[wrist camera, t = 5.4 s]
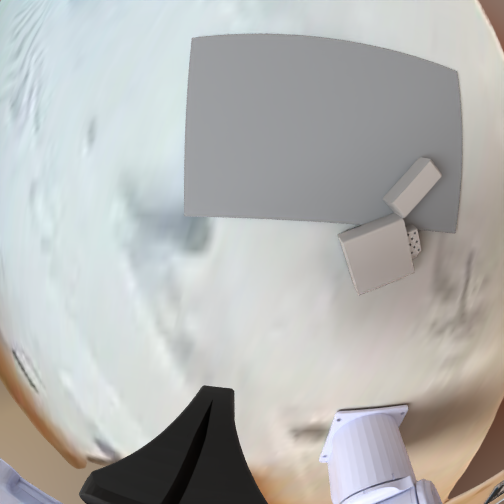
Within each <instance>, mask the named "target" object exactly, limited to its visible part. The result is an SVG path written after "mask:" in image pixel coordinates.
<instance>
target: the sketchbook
mask: <svg viewBox="0 0 504 504" xmlns="http://www.w3.org/2000/svg"><path fill="white" fill-rule="evenodd" d="M503 493H504V480H503V481H502V482H501V483H499V484H498V485H497V486H495V488H494V489H493V491H492V492H491V494H490V495H489V497H488V498H487V500H486V501H485V503H484V504H488V503H489V502H491V501H493V500H494V499H496V498H497V497H499V496H500V495H501V494H503Z"/></svg>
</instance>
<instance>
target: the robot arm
mask: <svg viewBox="0 0 504 504" xmlns="http://www.w3.org/2000/svg"><path fill="white" fill-rule="evenodd" d="M408 409H409V408H408V405H401V406H393V407H385V408H375V409H364V410H351V411H339V412H337V413H336V414H335V416H334V419H333V422H332V425H331V428H330V431H329V434H328V436H327V439H326V442H325V444H324V447H323V450H322V452H321V455H320V457H319V462H328V471H329V481H330V491H331V499H332V502H333V504H442V501H441V499H440V496H439V494H438V492H437V490H436V488H435V486H434V484H433V483H432V482H431V481H428V480H425V479H421V480H420V481H417V480H416V477H415V474H414V471H413V468H412V465H411V462H410V459H409V456H408V453H407V451H406V448H405V445H404V442H403V439H402V437H401V434H400V431H399V426H400V424H401V422H402V421H403V419H404V417H405V415H406V413H407V411H408ZM234 417H235V413H234V390H233V389H230V388H221V387H212V386H205V385H204V386H202V387H201V389H200V390H199V392H198V393H197V395H196V396H195V397H194V399H193V400H192V401H191V402H190V404H189V405H188V406H187V407H186V408H185V410H184V411H183V412H182V413H181V414H180V415H179V416H178V417H177V418H176V419H175V420H174V421H173V422H172V423H171V424H170V425H169V426H168V427H167V428H166V429H165V430H164V431H163V432H162V433H161V434H159V435H158V436H157V437H156V438H154V439H153V440H152V441H151V442H149V443H148V444H146V445H145V446H143V447H142V448H141V449H139V450H138V451H136V452H134V453H133V454H131V455H129V456H127V457H125V458H123V459H121V460H119V461H118V462H115V463H113V464H111V465H108V466H106V467H103V468H101V469H98V470H95V471H93V472H92V473H91V474H90V476H89V477H88V478H87V480H86V481H85V483H84V485H83V487H82V489H81V491H80V493H79V495H80V497H81V499H82V500H83V501H84V502H85V503H86V504H268V503H267V501H266V500H265V498H264V497H263V495H262V493H261V492H260V490H259V488H258V486H257V484H256V482H255V480H254V478H253V476H252V474H251V472H250V470H249V468H248V465H247V463H246V460H245V458H244V455H243V452H242V449H241V446H240V443H239V439H238V435H237V431H236V426H235V420H234ZM339 418H340V419H339ZM0 504H63V503H61V502H59V501H58V500H56V499H54V498H53V497H51V496H49V495H48V494H46V493H44V492H43V491H41V490H40V489H38V488H37V487H35V486H33V485H32V484H30V483H29V482H28V481H26V480H25V479H23V478H22V477H20V475H19V474H18V473H17V472H16V471H15V470H14V469H13V468H12V467H11V466H10V465H8V464H7V463H6V462H5V461H3V460H2V459H1V458H0Z"/></svg>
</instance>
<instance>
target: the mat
mask: <svg viewBox="0 0 504 504" xmlns="http://www.w3.org/2000/svg"><path fill="white" fill-rule="evenodd" d="M420 157H422V158H428V159H431V160H432V162H433V163H434V164H435V166H436V167H437V168H438V170H439V171H440V173H441V174H442V176H441V177H440V179H439V180H438V181H437V182H436V183H435V185H434V186H433V187H432V188H431V189H430V190H429V191H428V193H427V194H426V195H425V196H424V197H423V198H422V199H421V201H420V202H419V203H418V204H417V205H416V206H415V207H414V208H413V209H412V210H411V212H410V213H409V214H408V215H407V216H406V217H404V218H403V220H404V223H405V226H407V225H410V224H412V225H413V226H415V227H416V228H417V230H428V231H438V232H447V233H455V231H456V224H457V217H458V208H459V199H460V187H461V170H462V121H461V104H460V93H459V83H458V75H457V71H455V70H452V69H450V68H447V67H445V66H442V65H439V64H436V63H433V62H430V61H427V60H424V59H421V58H418V57H415V56H411V55H408V54H404V53H401V52H397V51H393V50H389V49H385V48H380V47H376V46H371V45H366V44H361V43H356V42H350V41H344V40H337V39H330V38H321V37H312V36H300V35H283V34H234V35H217V36H205V37H196V38H192V42H191V52H190V63H189V75H188V89H187V105H186V126H185V160H184V216H194V217H229V218H255V219H277V220H296V221H314V222H330V223H344V224H358V225H364V224H367V223H369V222H372V221H374V220H377V219H379V218H382V217H385V216H387V215H390V214H392V213H394V212H393V210H392V209H391V208H390V207H389V206H388V205H387V204H386V202H385V201H384V200H383V197H384V196H385V195H386V194H387V193H388V192H389V191H390V190H391V188H392V187H393V186H394V185H395V184H396V183H397V182H398V181H399V180H400V179H401V177H402V176H403V175H404V174H405V173H406V172H407V171H408V170H409V169H410V167H411V166H412V165H413V164H414V163H415V162H416V161H417V160H418V159H419V158H420Z"/></svg>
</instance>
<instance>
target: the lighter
mask: <svg viewBox="0 0 504 504" xmlns="http://www.w3.org/2000/svg"><path fill="white" fill-rule="evenodd" d="M441 176H442V174H441V173H440V171H439V170H438V168H437V167H436V166H435V164H434V163H433V162H432V160H431V159H428V158H422V157H420V158H419V159H418V160H417V161H416V162H415V163H414V164H413V165H412V166H411V167H410V169H409V170H408V171H407V172H406V173H405V174H404V175H403V176H402V177H401V179H400V180H399V181H398V182H397V183H396V184H395V185H394V186H393V187H392V188H391V190H390V191H389V192H388V193H387V194H386V195H385V196H384V197H383V200H384V201H385V202H386V204H387V205H388V206H389V207H390V208H391V209H392V210H393V212H394V213H392V214H390V215H387V216H385V217H382V218H379V219H377V220H374V221H372V222H369V223H367V224H364V225H361V226H359V227H356V228H354V229H351V230H348V231H346V232H343V233H341V234H338V237H339V240H340V243H341V246H342V249H343V252H344V255H345V258H346V262H347V265H348V268H349V271H350V275H351V278H352V281H353V284H354V287H355V289H356V291H357V293H358V295H361V294H364V293H366V292H369V291H371V290H374V289H377V288H379V287H381V286H384V285H386V284H389V283H391V282H394V281H396V280H399V279H401V278H403V277H406V276H408V275H410V274H413V273H414V267H413V261H412V259H414V258H416V257H417V255H418V253H419V252H420V251H421V245H420V240H419V235H418V230H417V228H416V227H415V226H413V225H412V224H410V225H407V226H405V223H404V220H403V218H404V217H406V216H407V215H408V214H409V213H410V212H411V210H412V209H413V208H414V207H415V206H416V205H417V204H418V203H419V202H420V201H421V199H422V198H423V197H424V196H425V195H426V194H427V193H428V191H429V190H430V189H431V188H432V187H433V186H434V185H435V183H436V182H437V181H438V180H439V179H440V177H441Z"/></svg>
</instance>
